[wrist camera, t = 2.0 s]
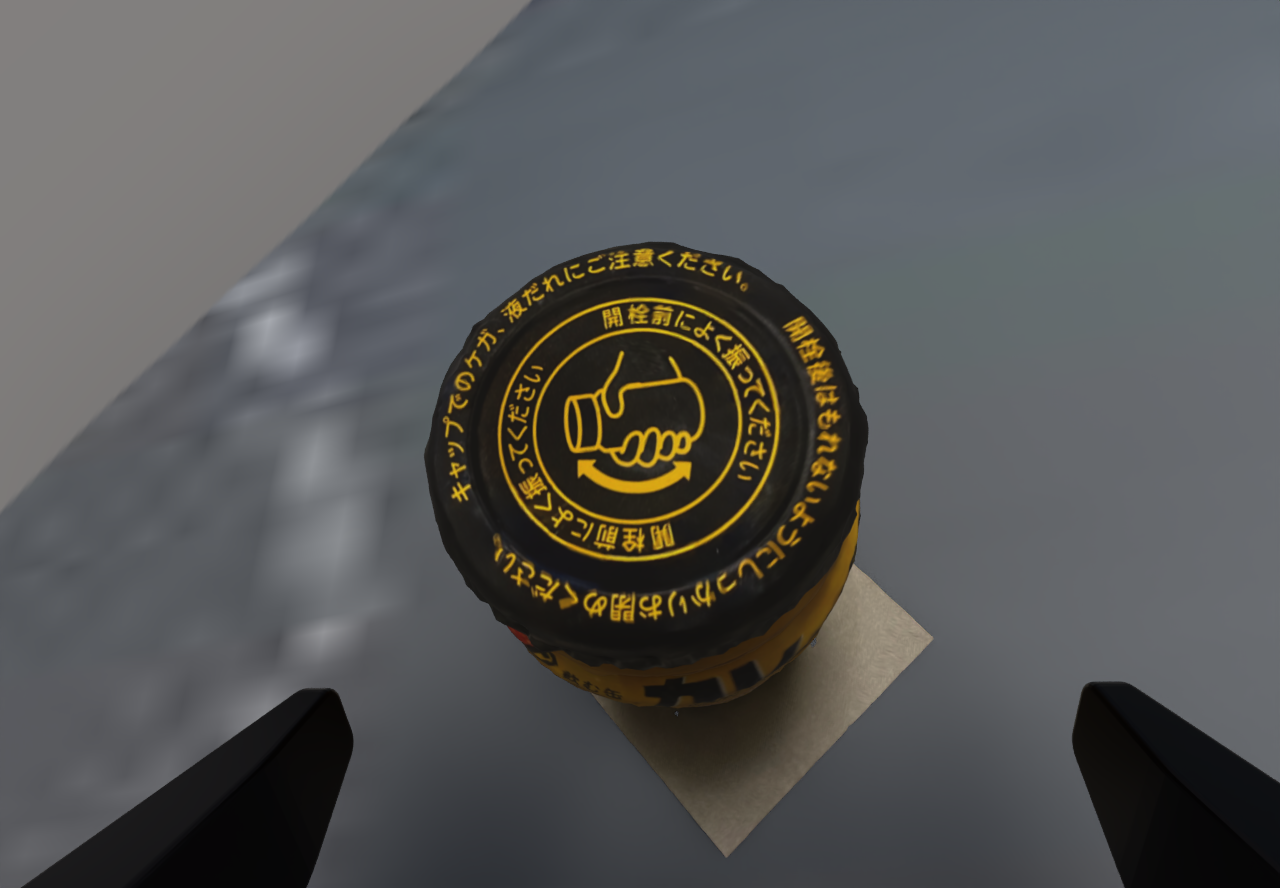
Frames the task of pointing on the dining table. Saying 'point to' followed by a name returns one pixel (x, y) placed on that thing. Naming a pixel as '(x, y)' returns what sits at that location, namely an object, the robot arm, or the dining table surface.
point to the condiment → (673, 515)
